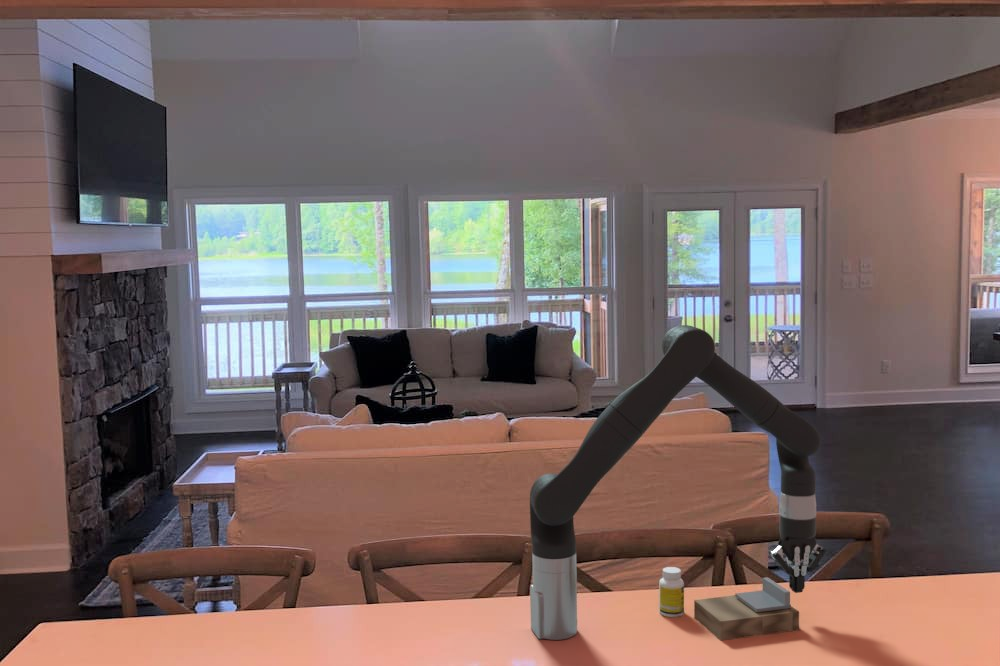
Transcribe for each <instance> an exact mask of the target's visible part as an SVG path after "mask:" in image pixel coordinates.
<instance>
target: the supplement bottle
mask: <svg viewBox="0 0 1000 666" xmlns="http://www.w3.org/2000/svg"><path fill="white" fill-rule="evenodd" d="M658 583H659V584H658V585H659V586H658V590H659V591H658V592H659V593H658V597H659V598H658V599H659V600H658V601H659V602H658V611H659V613H660V615H662V616H664V617H667V616H668V617H669V618H677V617H678V616H679V617H681V616H683V614H684V613H685V581H684V580H683V579H682V570H681V569H680V568H678V567H675V566H667V567H663V568H662V578H660V579H659V582H658Z"/></svg>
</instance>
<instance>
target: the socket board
mask: <svg viewBox="0 0 1000 666" xmlns="http://www.w3.org/2000/svg"><path fill="white" fill-rule="evenodd" d="M693 602H694V603H693V605H694V606H693V607H694V610H693V611H694V612H693V613H694V615H693V616H694V617H693V618H694V619H695V620H696V619H697V620H698V621H699V623H700V624H701V625H702V626H703V627H704V628H705V629H707V631H709V632H710V633H711V634H712V635H713V636H715V637H716V638H717V639H718V640H719V641H726V640H734V639H742V638H748V637H757V636H762V635H763V636H765V635H770V634H771V635H773V634H779V633H787V632H793V631H799V630H800V611H799V609H796V608H794V607H793V606H792V605H791V608H786V609H779V610H771V611H763V612H755V611H754V610H753V609H751V608H750V607H749V606H747V605H746V604H745V603H743V602H742V601H740V600H739V599H738V598H736V597H735V595H727V596H718V597H716V596H715V597H710V598H700V599H694V601H693ZM697 620H696V621H697ZM698 621H697V622H698Z"/></svg>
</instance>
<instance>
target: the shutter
mask: <svg viewBox="0 0 1000 666" xmlns="http://www.w3.org/2000/svg"><path fill="white" fill-rule="evenodd" d="M735 597H736V598H738V599H739V600H740V601H742V602H743V603H745V604H746V605H747V606H749V607H750V608H751V609H753V610H754V611H755V612H763V611H771V610H779V609H786V608H791V606H792V604H791V592H790V590H788V589H786V588H785V587H783V586H782V585H780V584H778V583H777V582H776V581H774V580H773V579H771V578H770V577H768V576H766V577H762V590H753V591H745V592H737V593H735Z"/></svg>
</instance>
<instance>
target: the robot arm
mask: <svg viewBox="0 0 1000 666" xmlns="http://www.w3.org/2000/svg"><path fill="white" fill-rule="evenodd" d="M661 346H662V347H661V348H662V349H661V350H662V352H663V356H662V358H661V359H660V360H659V362H658V363H656V365H655V366H654V367H653V369H652V370H651V371H649V372H648V374H646V375H645V376H644V377H642V378H641V379H640V380H638V381H637V382H635V383H634V384H633V385H631V386H629V387H628V388H626V389H625V390H624V391H623V392H621V393H620V394H619V395H617V396H616V397H615V398H614V399H613V400H612V401H611V402H610V404H608V405H607V406H606V408H605V409H604V410H603V411H602V412H601V413H600V415H599V416H598V417H597V418H596V419H595V420H594V422H593V423H592V424H591V426H590V428H589V429H588V431H587V433H586V435H585V437H584V439H583V441H582V442H581V444H580V446H579V448H578V450H577V451H576V453H575V455H574V456H573V457H572V458H571V460H570V461H569V462H568V463H567V464H566V466H564V467H563V468H562V469H561V470H560V472H558V473H546V474H543V475H541V476H540V477H538V478H537V479H535V481H534V482H533V483H532V486H531V488H530V492H529V519H530V520H529V522H530V523H529V525H530V537H531V539H530V540H531V549H532V550H531V551H532V553H531V554H532V555H531V556H532V557H531V558H532V561H531V562H532V584H531V585H530V586H529V591H530V592H529V595H530V606H529V607H530V629H531V630H532V632H533V633H534V635H535V636H536V638H537V639H539V640H543V639H546V640H553V641H555V640H557V641H558V640H559V641H560V640H561V641H562V640H566V639H570V638H573V637H574V636H576V634H577V633H578V598H577V597H578V594H577V593H578V592H577V591H578V586H577V583H578V582H577V581H578V580H577V540H576V533H575V525H574V523H575V522H574V516H575V514H577V512H578V511H579V510H580V508H581V506H583V503H584V502H585V501H586V499H587V498H588V496H589V495H590V494H591V493H592V492H593V490H594V488H595V487H596V486H597V485H598V483H599V482H600V481H601V480H602V479H603V478H604V477H605V476H606V475H607V474H608V473H609V472H610V471H611V470H612V468H613V467H614V466H615V465H616V464H618V462H619V461H620V460H621V459H623V457H624V456H625V454H627V452H628V451H630V449H631V448H633V447H634V445H636V443H637V442H638V441H639V440H640V439H641V438H642V437H643V435H644V434H645V433H646V432H647V430H649V428H650V426H652V424H654V422H655V421H656V420H657V419H658V417H659V416H660V415H661V414H662V413H663V411H665V409H667V407H668V405H669V404H670V403H671V402H672V401H673V400H674V398H675V397H676V396H677V395H678V394H679V393H680V392H681V391H682V390H683V389H684V388H685V387H687V386H688V384H690V383H691V382H692V381H693V380H694V379H695V378H697V379H699V380H701V381H702V382H704V383H705V384H706V385H707V386H709V387H710V388H711V389H713V390H714V391H715V392H716V393H718V394H719V395H720V396H721V397H722V398H723V399H725V400H726V401H727V402H728V403H729V404H731V406H732V407H734V408H736V410H738V412H740V414H743V416H745V418H747V419H748V420H749V421H750V422H752V423H753V424H754V425H756V426H757V427H758V428H760V429H762V430H763V431H765V432H767V433H769V434H770V435H772V436H773V437H774V438H775V444H776V446H775V447H776V452H777V457H778V463H779V466H780V467H779V468H780V497H779V507H778V509H779V511H778V512H779V517H778V518H779V521H778V523H779V524H778V525H779V529H778V532H779V535H780V536H779V540H778V542H777V545H778V546H777V547H776V548H775V549H774V550H773V549H770V550H769V551H768V555H769V556H770V558H772V560H773V562H774V563H775V564H776V565H777V567H778V568H779V569H780V570H781V571H782V572H783V573H785V574H787V575H789V576H788V579H789V582H788V583H789V585H788V586H789V589H791V591H792V592H793V593H795V594H797V593H799V594H800V593H803V591H804V589H805V586H806V585H805V580H806V579H805V578H806V575H807V573H813V571H815V569H816V567H818V564H819V563H820V561H821V560H822V558H823V557H824V555H825V554H826V552H827V549H826V548H824V547H823V546H820V545H819V544H818V542H817V539H816V535H817V499H816V472H815V468H813V466H812V464H810V460H809V457H811V456H813V455H815V454H816V453H817V452H818V451H819V450H820V448H821V445H822V437H821V434H820V432H819V431H818V429H817V428H816V427H815V426H814V425H813V424H811V423H810V422H809V421H807V420H806V419H804V418H803V417H801V416H800V415H798V414H797V413H796V412H794V411H792V410H791V409H790V408H788V407H787V406H785V404H783V402H781V401H780V400H779V399H778V398H776V396H774V395H773V394H772V393H771V392H769V390H766V389H765V388H764V387H763V386H762V385H760V384H759V383H757V382H756V381H754V379H751V377H749V376H747V375H746V374H744V373H742V372H741V371H739V370H738V369H736V368H735V367H734V366H732V365H731V364H729V363H728V362H727V361H725V360H724V359H723V358H722V357H721V356H719V354H718V353H716V344H715V341H714V339H713V337H712V336H711V334H710V333H709V332H707V331H706V330H703V329H701V328H699V327H695V326H692V325H685V324H684V325H683V324H682V325H676V326H674V327H672V328H671V329H669V330H668V331H667V332H666V333H665V334H664V336H663V339H662V343H661ZM784 556H785V560H786V561H785V560H784V559H783V558H784Z"/></svg>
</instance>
